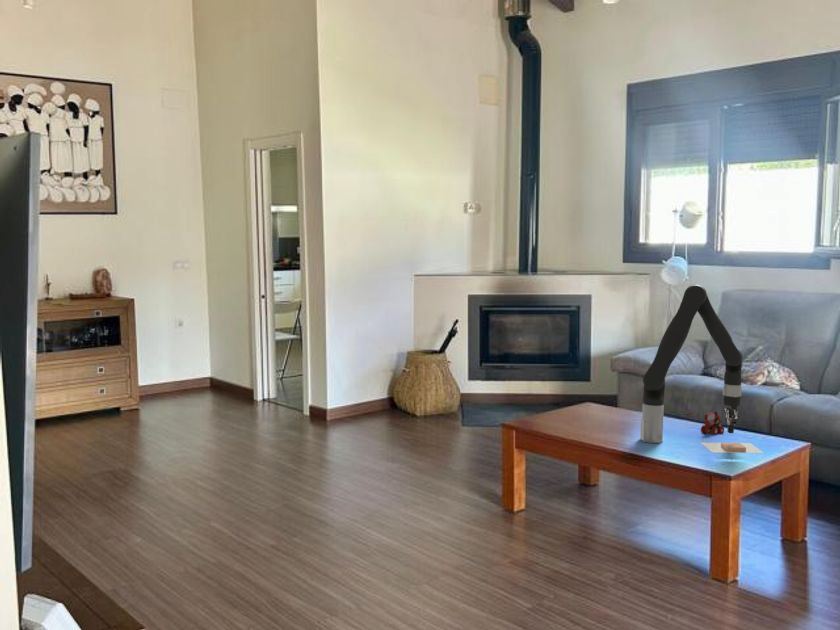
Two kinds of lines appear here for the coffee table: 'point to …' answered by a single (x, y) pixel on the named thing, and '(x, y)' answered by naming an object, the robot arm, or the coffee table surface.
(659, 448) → the coffee table surface
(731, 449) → the tile
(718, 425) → the red wheeled toy
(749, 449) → the stone board
